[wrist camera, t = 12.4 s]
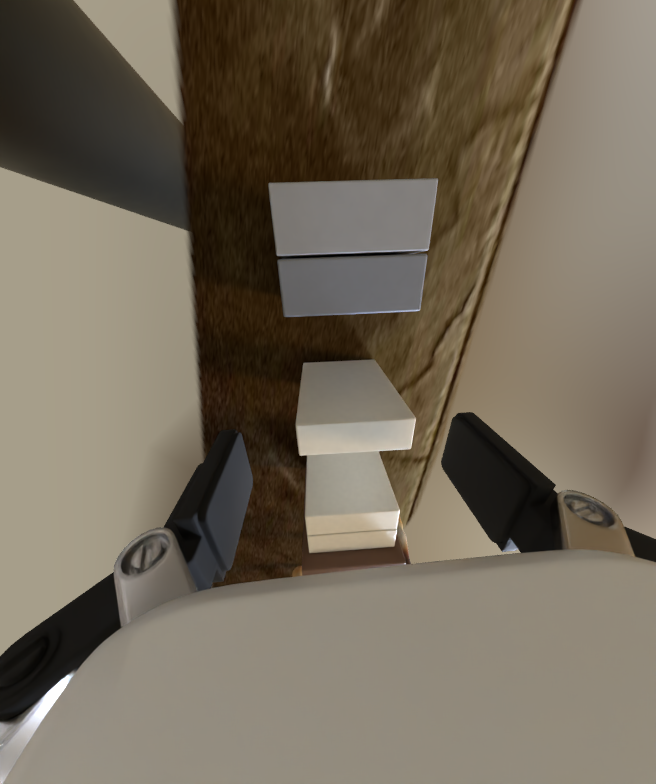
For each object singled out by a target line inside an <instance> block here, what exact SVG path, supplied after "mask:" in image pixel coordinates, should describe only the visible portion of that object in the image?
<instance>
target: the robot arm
mask: <svg viewBox="0 0 656 784" xmlns="http://www.w3.org/2000/svg"><path fill="white" fill-rule="evenodd" d="M441 464H442V468H443V470H444V471H445V473H446V474H447V475H448V477H449V479H450V480H451V482H452V483H453V485H454V486H455V488H456V489H457V491H458V492H459V494H460V495H461V497H462V498H463V500H464V501H465V502H466V504H467V506H468V507H469V509H470V510H471V512H472V513H473V515H474V516H475V517H476V519H477V520H478V522H479V523H480V525H481V526H482V528H483V529H484V531H485V532H486V534H487V535H488V537H489V538H490V539H491V540H492V541H493V542H494V543H496V544H497V545H498V547H499V548H500V549H501V551H502V552H506V551H516V550H517V548H518V549H519V551H520V552H521V553H515V554H505V555H495V556H485V557H476V558H466V559H456V560H445V561H435V562H427V563H416V564H407V565H397V566H388V567H379V568H369V569H360V570H351V571H342V572H333V573H324V574H315V575H306V576H297V577H288V578H279V579H272V580H264V581H256V582H249V583H241V584H233V585H227V586H222V587H217V588H211V586H212V582H221V581H223V580H224V577H225V573H226V570H230V569H231V567H232V564H233V560H234V556H235V552H236V548H237V544H238V540H239V536H240V532H241V528H242V525H243V521H244V517H245V513H246V509H247V505H248V501H249V497H250V493H251V489H252V485H253V477H252V473H251V469H250V465H249V461H248V457H247V454H246V450H245V446H244V442H243V438H242V435H241V433H240V432H239V433H237V431H236V430H235V429H234V430H222V431H220V433H219V434H218V436H217V438H216V440H215V442H214V444H213V446H212V447H211V449H210V451H209V453H208V455H207V457H206V459H205V460H204V462H203V463H201V464H200V465H198V467H197V468H196V470H195V472H194V474H193V476H192V477H191V479H190V481H189V483H188V484H187V486H186V488H185V490H184V492H183V494H182V495H181V497H180V499H179V501H178V502H177V504H176V506H175V508H174V510H173V511H172V513H171V515H170V517H169V519H168V520H167V522H166V524H165V526H164V528H155V529H152V530H149V531H147V532H145V533H143V534H141V535H140V536H138V537H137V538H135V539H134V540H132V541H131V542H130V543H129V544H128V545H127V546H126V547H125V548H124V549H123V551H122V552H121V553H120V555H119V556H118V558H117V560H116V562H115V565H114V572H113V573H112V574H110V575H109V576H107V577H106V578H104V579H103V580H102V581H100V582H99V583H97V584H96V585H95V586H93V587H92V588H90V589H89V590H88V591H86V592H85V593H83V594H82V595H80V596H79V597H77V598H76V599H75V600H73V601H72V602H70V603H69V604H68V605H66V606H65V607H63V608H62V609H60V610H59V611H58V612H56V613H55V614H53V615H52V616H51V617H49V618H48V619H46V620H45V621H43V622H42V623H40V624H39V625H38V626H36V627H35V628H34V629H32V630H31V631H29V632H28V633H26V634H25V635H24V636H23V637H21V638H20V639H19V640H17V641H16V642H15V643H14V644H13V645H11V646H10V647H9V648H8V649H7V650H6V651H5V652H4V653H3V654H2V655H1V656H0V784H656V539H654V538H651V537H649V536H646V535H644V534H641V533H639V532H636V531H634V530H632V529H629V528H627V527H624V526H623V523H622V521H621V519H620V518H619V516H618V515H617V514H616V513H615V512H614V511H613V510H612V509H611V508H610V507H608V506H607V505H606V504H604V503H603V502H601V501H599V500H597V499H596V498H594V497H592V496H590V495H587V494H585V493H582V492H578V491H573V490H564V491H561V492H559V493H556V492H555V491H554V490H553V489H554V487H555V486H556V485H555V484H554V483H553V482H552V481H551V480H550V479H548V478H547V477H546V476H545V475H544V474H543V473H541V472H540V471H539V470H538V469H537V468H536V467H535V466H534V465H532V464H531V463H530V462H529V461H528V460H527V459H525V458H524V457H523V456H522V455H521V454H520V453H519V452H517V451H516V450H515V449H514V448H513V447H512V446H510V445H509V444H508V443H507V442H506V441H505V440H504V439H503V438H501V437H500V436H499V435H498V434H497V433H496V432H494V431H493V430H492V429H491V428H490V427H489V426H488V425H487V424H485V423H484V422H483V421H482V420H481V419H480V418H479V417H477V416H476V415H475V414H474V413H471V412H467V413H458V414H457V415H456V416H455V417H453V419H452V422H451V426H450V430H449V434H448V437H447V441H446V445H445V450H444V453H443V457H442V461H441Z"/></svg>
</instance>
